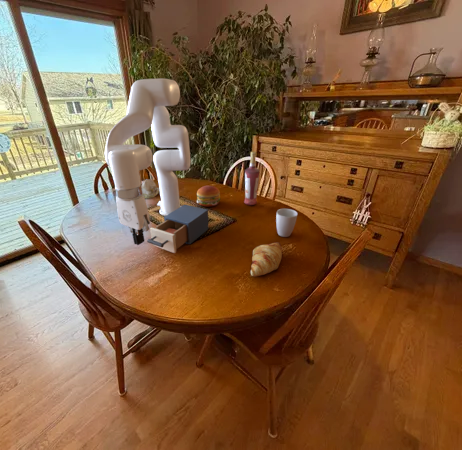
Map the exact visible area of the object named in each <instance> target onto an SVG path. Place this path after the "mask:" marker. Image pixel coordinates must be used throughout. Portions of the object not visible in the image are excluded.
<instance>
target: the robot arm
mask: <svg viewBox="0 0 462 450" xmlns="http://www.w3.org/2000/svg"><path fill="white" fill-rule="evenodd" d="M180 98H181V90H180V86H179V84H178V83H177V81H176V80H174V79H169V78H162V77H161V78H144V79H142V78H141V79H137V80H135V81H134V82H133V83H132V85H131V87H130V93H129V99H128V103H127V110H126V114H125V116H123V117H122V118H120V120H118V122H116V123H115V125H114V126H113V127H112V128H111V129H110V131H109V133H108V135H107V139H106V144H105V149H104V158H105V163H106V164H107V166H108V167H109V168H110V169H111V174H112V179H113V183H114V188H115V192H116V196H115V197H116V198H115V199H116V200H115V201H116V210H117V218H118V221H119V224H121V225H123V226H124V227H127V228H128V229H129V232H130V233H131V234H132V240H133V244H134V245H137V246H139V245H141V244H142V243H145V235H144V232H148V231H150V226H149V225H150V224H151V218H150V213H149V212H150V211H149V209H148V205H147V201H146V198H144V196H143V192H142V187H141V186H142V182H141V175H140V171H143V170H146V169H147V168H149V167H150V166H151V164H152V162H153V164H154V168H155V171H156V176H157V181H158V188H159V189H160V191H159V196H160V200H158V203H157V204H156V206H157V207H160V209H159V214H160V215H161V216H163V217H165V216H166V215H168V214H170V213H171V212H173V211H175V210H176V209H178V208H180V207H181V206H182V205H181V203H180V202H181V201H180V190H179V181H178V176H177V175H176V174H175V171H176V172H177V171H180V172H181V171H188V170H189V169H190V168H191V163H192V162H191V161H192V160H191V149H190V139H189V138H190V137H189V132H188V129H187V127H186V126H185V125H182V124H171V119H170V113H169V111H168V109H167V107H173V106H177V105H178V104H179V102H180ZM150 128H151V134H152V140H153V143H154V145H155V147H157V148H160V149H161V150H157V151H155V153H154V154H153V152H152V150H151V148H150V147H149V146H147V145H145V144H140V143H139V144H137V143H136V144H125V142H126V141H128V140H129V139H131V138H132V137H135V136H137V135H138V134H141V133H144V132H145V131H148V130H149V129H150ZM167 148H168V149H167ZM172 148H177V149H172Z"/></svg>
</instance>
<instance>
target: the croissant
mask: <svg viewBox="0 0 462 450" xmlns="http://www.w3.org/2000/svg"><path fill="white" fill-rule="evenodd" d="M282 258H283V247H282V245H281V242H279V241H276V242H272V243H268V244H260V245H258V246H256V247H255V248H254V249H253V250H252V257H251V260H252V262H251V265H250V266H251V269H250V276H251V277H259V276H264V275H266V274H269V273H271V272H273V271H276V270H278V268H279V266H280V264H281V260H282Z"/></svg>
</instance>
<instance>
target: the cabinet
mask: <svg viewBox="0 0 462 450" xmlns="http://www.w3.org/2000/svg"><path fill="white" fill-rule="evenodd" d="M180 206H181V207H180V208H178V209H176V210H175V211H173V212H171V213H170V214H168V215H166V216H163V219H164V221H166V220H167V219H168V220H171V221H175V222H178V223H182V224H186V225H187V231H188V241H186V242H185V243H184V244H188V245H191V244H192V243H194V242H195V241H196V240H197V239H198V238H200V237H201V236H202V235H204V234H205V233H206V232H207V231H208V230H209V229H210V228H209V227H210V226H209V210H208V209H207V208H203V207H198V206H193V205H189V204H183V205H180Z"/></svg>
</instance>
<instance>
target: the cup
mask: <svg viewBox="0 0 462 450" xmlns="http://www.w3.org/2000/svg"><path fill="white" fill-rule="evenodd" d="M275 216H276V217H275V218H276V219H275V222H276V232H277V234H278V236H280V237H283V238H288V237H290V236H291V234H292V233H293V231H294V229H295V225H296V223H297V218H298V212H297V211H296V210H294V209H291V208H280V209H277V211H276V215H275Z"/></svg>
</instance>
